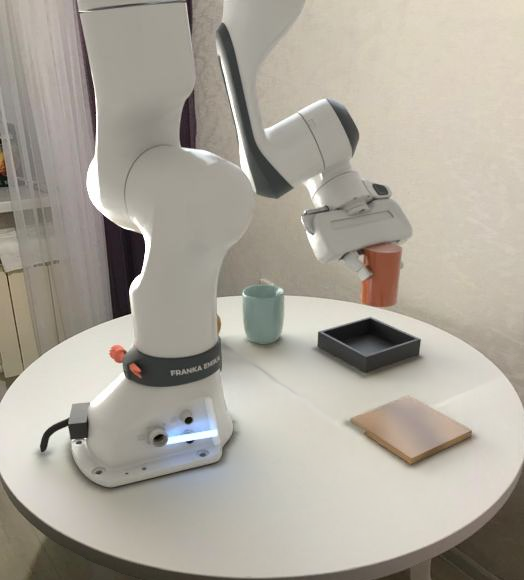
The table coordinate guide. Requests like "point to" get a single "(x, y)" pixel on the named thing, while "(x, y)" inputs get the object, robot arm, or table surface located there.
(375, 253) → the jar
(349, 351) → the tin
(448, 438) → the board
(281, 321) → the cup
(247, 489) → the table surface
